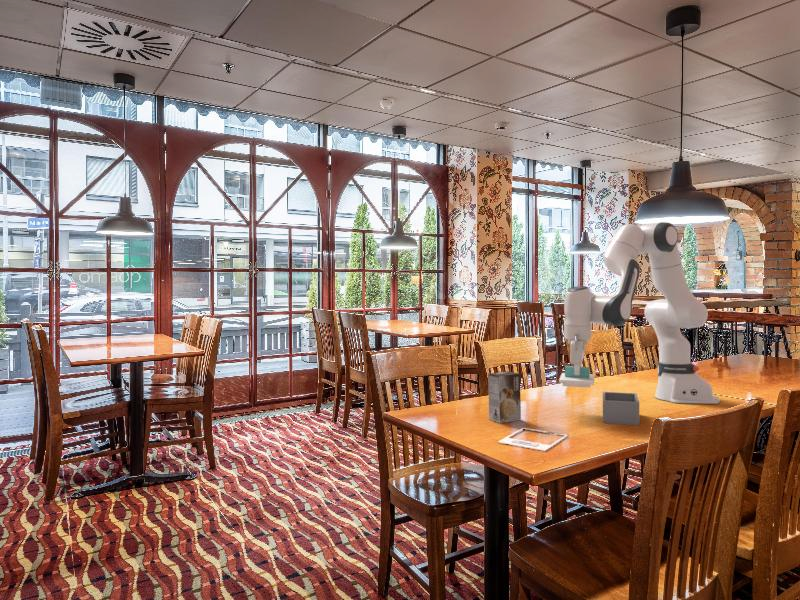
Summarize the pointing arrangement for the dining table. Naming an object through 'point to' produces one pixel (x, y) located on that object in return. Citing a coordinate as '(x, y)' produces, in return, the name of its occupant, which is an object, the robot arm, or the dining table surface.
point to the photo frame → (530, 444)
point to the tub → (620, 408)
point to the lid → (577, 377)
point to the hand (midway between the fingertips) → (577, 374)
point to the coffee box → (504, 396)
